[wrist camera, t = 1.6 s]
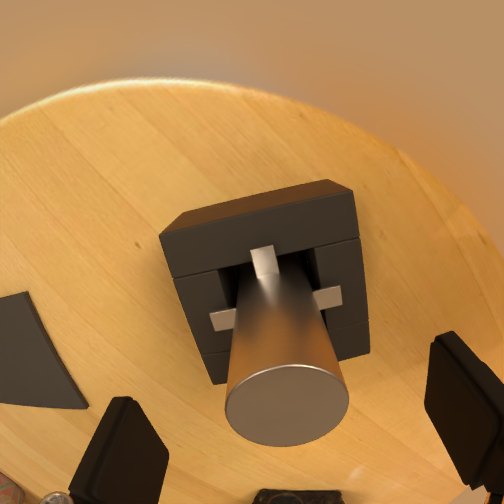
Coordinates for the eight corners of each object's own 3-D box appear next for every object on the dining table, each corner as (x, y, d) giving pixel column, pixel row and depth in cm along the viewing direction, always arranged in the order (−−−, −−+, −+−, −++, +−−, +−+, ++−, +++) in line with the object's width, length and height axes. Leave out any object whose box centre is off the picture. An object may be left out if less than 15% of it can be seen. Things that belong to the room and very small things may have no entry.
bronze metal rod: (210, 229, 19) (149, 347, 8) (309, 206, 19) (388, 299, 7) (235, 316, 21) (218, 474, 9) (326, 297, 20) (385, 444, 9)
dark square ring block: (181, 212, 19) (157, 235, 14) (328, 178, 18) (353, 189, 13) (221, 337, 21) (212, 385, 17) (348, 310, 21) (370, 353, 16)
